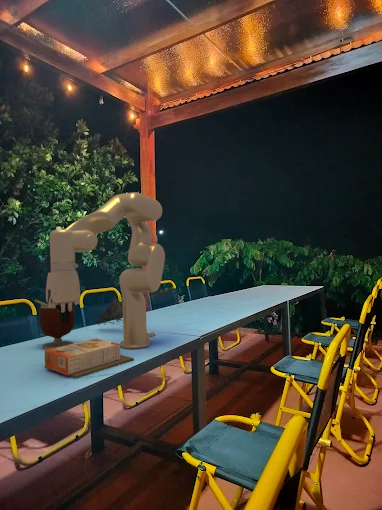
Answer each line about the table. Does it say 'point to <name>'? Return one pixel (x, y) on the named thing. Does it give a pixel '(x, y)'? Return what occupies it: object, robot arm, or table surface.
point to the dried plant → (118, 310)
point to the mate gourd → (54, 326)
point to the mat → (100, 367)
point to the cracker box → (81, 356)
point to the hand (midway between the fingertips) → (64, 323)
